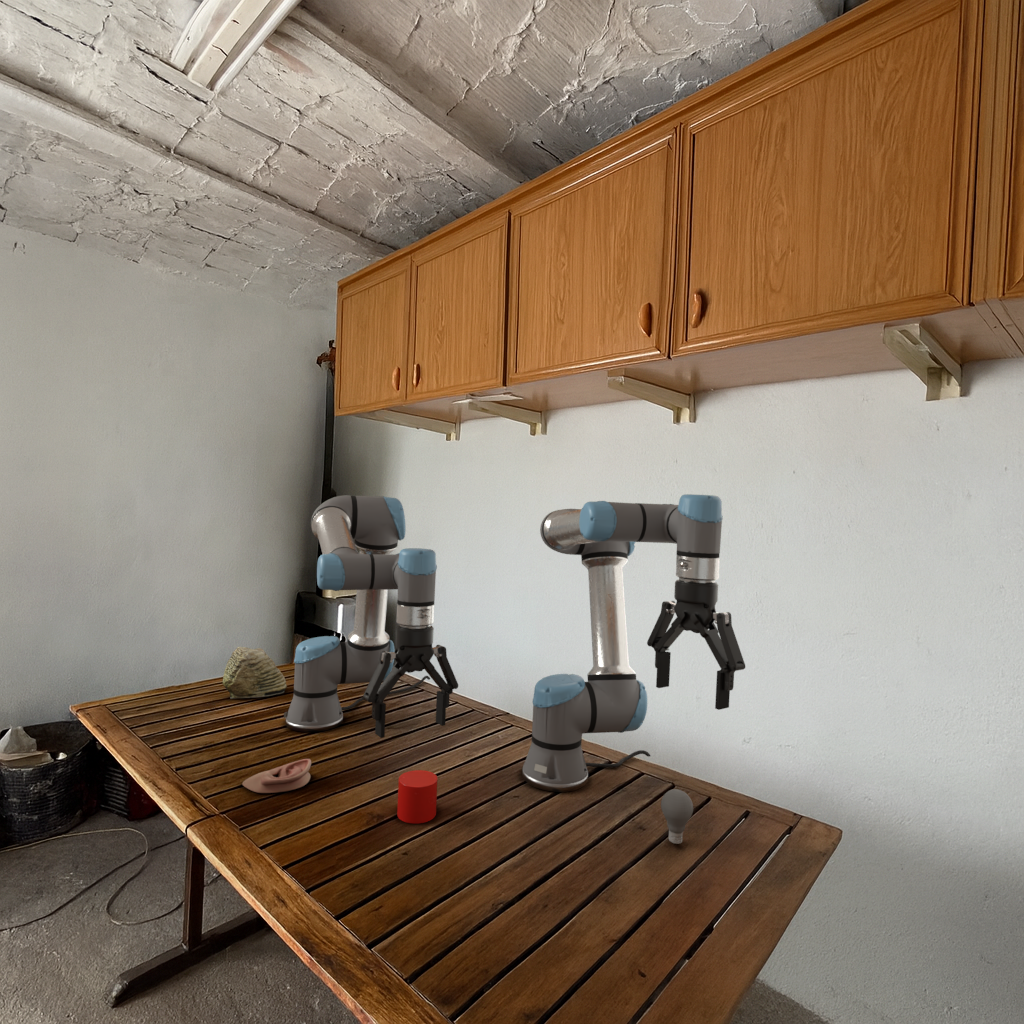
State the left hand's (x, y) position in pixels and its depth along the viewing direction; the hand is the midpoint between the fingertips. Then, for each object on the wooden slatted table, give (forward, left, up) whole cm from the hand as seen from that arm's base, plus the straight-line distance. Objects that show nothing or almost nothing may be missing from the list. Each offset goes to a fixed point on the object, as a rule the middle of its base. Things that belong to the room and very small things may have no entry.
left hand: (411, 729), depth 128 cm
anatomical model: (+11, -30, -17) cm, 36 cm away
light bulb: (-27, +46, -17) cm, 56 cm away
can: (-1, +2, -17) cm, 17 cm away
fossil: (-17, -90, -17) cm, 93 cm away
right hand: (-22, +49, +13) cm, 56 cm away
